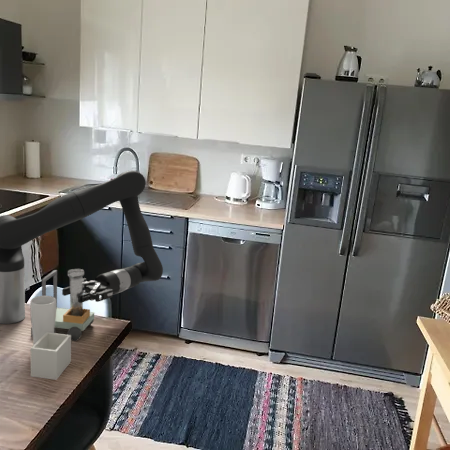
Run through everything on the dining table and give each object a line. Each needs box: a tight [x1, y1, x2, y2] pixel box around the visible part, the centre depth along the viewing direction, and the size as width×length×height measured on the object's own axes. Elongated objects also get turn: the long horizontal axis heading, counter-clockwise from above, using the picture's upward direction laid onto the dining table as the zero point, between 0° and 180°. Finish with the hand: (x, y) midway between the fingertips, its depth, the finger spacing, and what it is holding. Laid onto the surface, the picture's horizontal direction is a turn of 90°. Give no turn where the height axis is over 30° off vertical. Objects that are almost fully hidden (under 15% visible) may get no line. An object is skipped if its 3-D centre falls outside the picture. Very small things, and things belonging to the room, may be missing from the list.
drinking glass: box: [29, 295, 56, 346], centre depth 131 cm, size 7×7×15 cm
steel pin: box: [67, 268, 85, 316], centre depth 140 cm, size 5×5×15 cm
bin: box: [30, 332, 72, 380], centre depth 122 cm, size 7×9×8 cm
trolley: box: [41, 269, 95, 342], centre depth 142 cm, size 13×11×18 cm
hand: (70, 295), depth 138 cm, fingers open, 7 cm apart
